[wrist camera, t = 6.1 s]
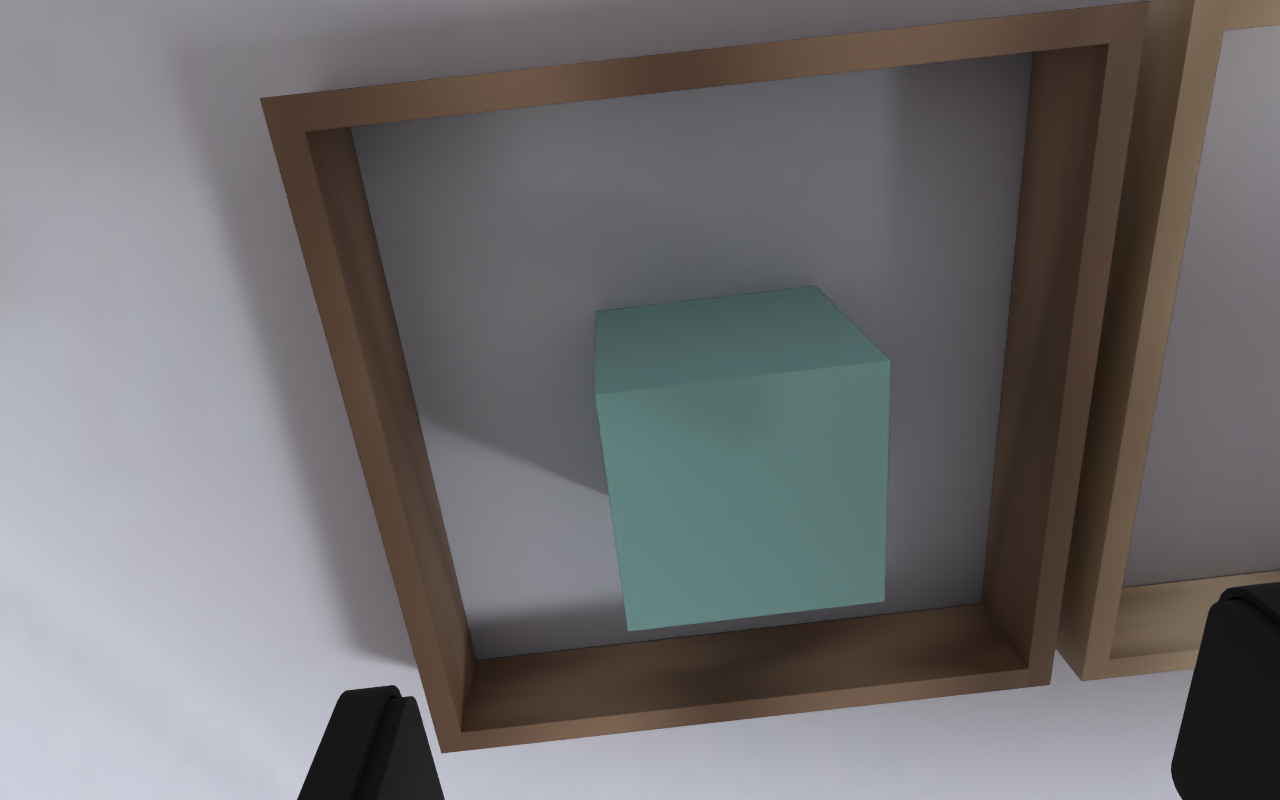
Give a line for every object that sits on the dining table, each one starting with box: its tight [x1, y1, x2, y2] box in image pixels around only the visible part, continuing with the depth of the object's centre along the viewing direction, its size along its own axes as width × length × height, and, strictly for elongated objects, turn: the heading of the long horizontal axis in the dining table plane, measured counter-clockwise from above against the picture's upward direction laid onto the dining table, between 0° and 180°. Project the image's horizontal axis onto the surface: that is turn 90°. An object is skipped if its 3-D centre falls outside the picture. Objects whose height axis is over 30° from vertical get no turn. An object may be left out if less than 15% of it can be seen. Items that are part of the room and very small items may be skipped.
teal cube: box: [595, 286, 891, 632], centre depth 16 cm, size 5×5×5 cm
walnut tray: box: [260, 1, 1149, 753], centre depth 17 cm, size 15×15×2 cm
